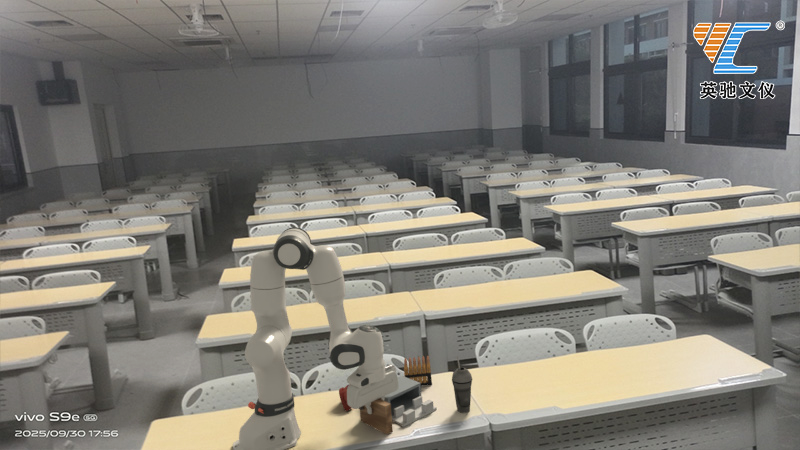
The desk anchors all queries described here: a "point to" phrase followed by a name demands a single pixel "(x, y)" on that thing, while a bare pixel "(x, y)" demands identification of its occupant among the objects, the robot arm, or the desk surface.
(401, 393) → the cabinet
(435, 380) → the desk surface
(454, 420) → the desk surface
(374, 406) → the door
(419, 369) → the ammunition clip
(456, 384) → the beverage cup
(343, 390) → the teeth
